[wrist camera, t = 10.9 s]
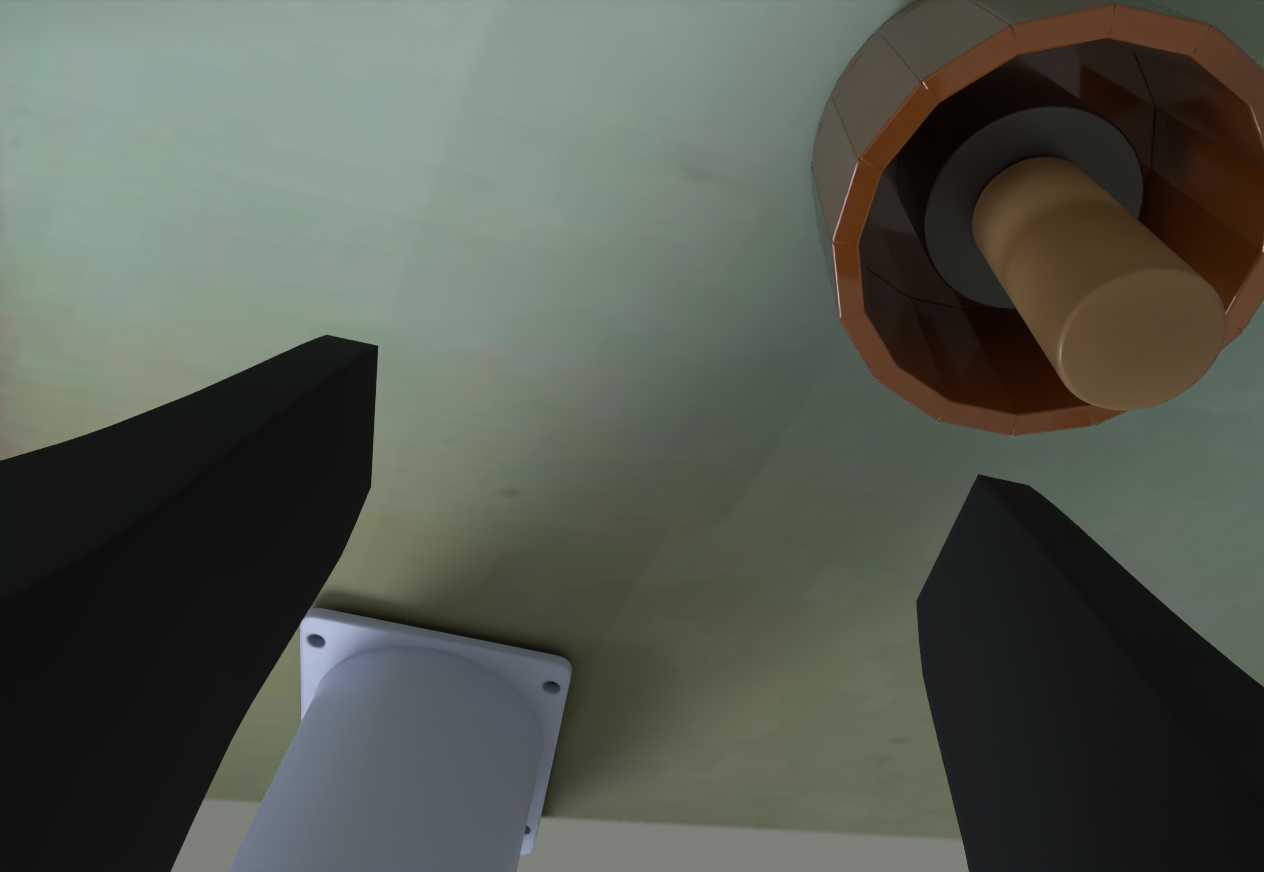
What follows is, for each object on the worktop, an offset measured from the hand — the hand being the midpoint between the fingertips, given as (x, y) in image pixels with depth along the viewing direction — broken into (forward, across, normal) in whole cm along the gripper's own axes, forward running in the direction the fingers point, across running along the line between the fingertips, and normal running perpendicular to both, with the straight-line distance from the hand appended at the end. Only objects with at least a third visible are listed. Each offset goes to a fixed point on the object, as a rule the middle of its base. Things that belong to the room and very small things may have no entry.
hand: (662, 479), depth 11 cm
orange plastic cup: (+10, -6, -2) cm, 12 cm away
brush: (+10, -6, -2) cm, 11 cm away
